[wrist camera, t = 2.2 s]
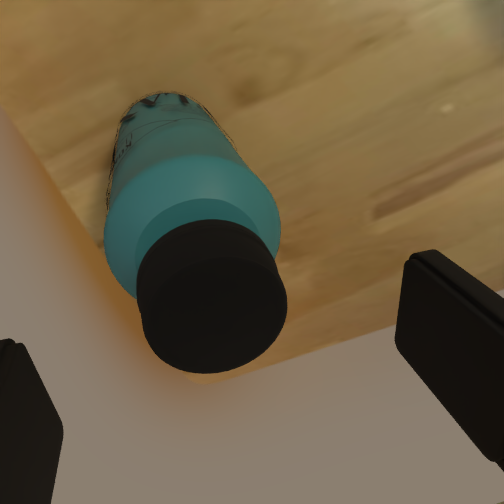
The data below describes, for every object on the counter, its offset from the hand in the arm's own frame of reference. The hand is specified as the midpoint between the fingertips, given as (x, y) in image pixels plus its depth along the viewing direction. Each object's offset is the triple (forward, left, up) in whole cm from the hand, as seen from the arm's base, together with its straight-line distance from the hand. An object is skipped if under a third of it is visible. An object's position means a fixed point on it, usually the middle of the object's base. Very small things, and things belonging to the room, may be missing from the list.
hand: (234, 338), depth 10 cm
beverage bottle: (0, 0, -21) cm, 21 cm away
